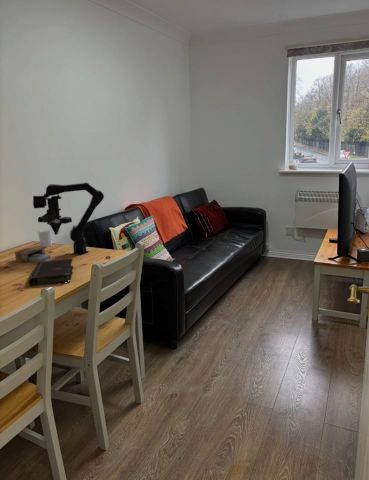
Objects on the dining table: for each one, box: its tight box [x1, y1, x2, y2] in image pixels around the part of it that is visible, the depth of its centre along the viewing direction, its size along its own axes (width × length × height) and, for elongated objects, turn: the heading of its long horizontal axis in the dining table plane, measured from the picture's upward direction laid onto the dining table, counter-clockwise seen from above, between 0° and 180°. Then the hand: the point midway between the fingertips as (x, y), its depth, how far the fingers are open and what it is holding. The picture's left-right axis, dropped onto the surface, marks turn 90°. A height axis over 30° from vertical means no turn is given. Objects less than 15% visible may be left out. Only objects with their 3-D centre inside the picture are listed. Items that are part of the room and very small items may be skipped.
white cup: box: [37, 228, 53, 248], centre depth 244 cm, size 8×8×10 cm
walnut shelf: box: [14, 244, 46, 263], centre depth 219 cm, size 7×15×5 cm, turn 158°
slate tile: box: [28, 253, 52, 263], centre depth 216 cm, size 12×8×2 cm, turn 69°
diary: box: [28, 258, 74, 287], centre depth 190 cm, size 19×25×5 cm
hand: (56, 234), depth 223 cm, fingers closed
